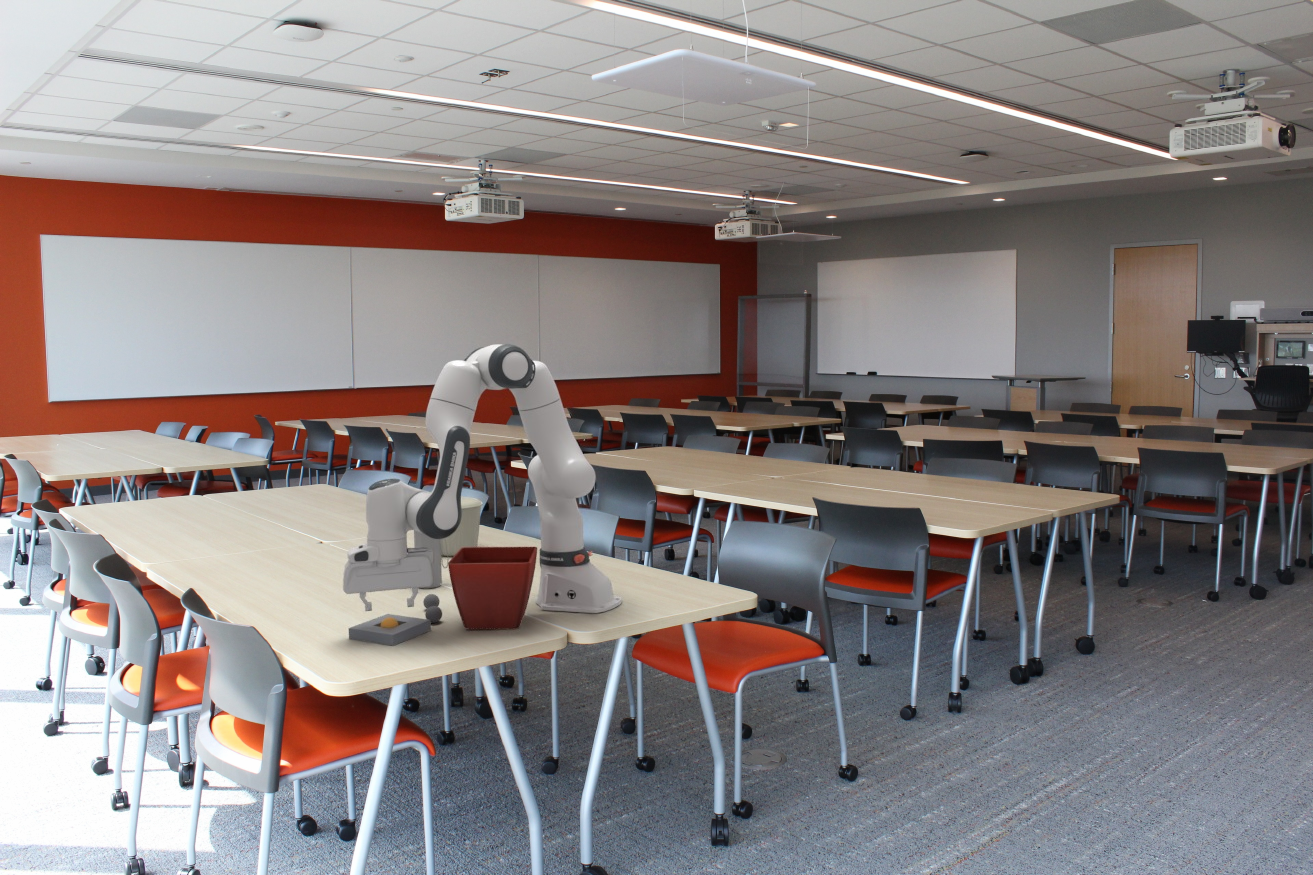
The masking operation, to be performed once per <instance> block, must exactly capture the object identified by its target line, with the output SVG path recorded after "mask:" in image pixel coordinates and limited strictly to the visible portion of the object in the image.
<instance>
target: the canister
mask: <svg viewBox="0 0 1313 875" xmlns="http://www.w3.org/2000/svg"><path fill="white" fill-rule="evenodd" d="M483 504H484V503H483V501H481V500H480V499H479V498H475V497H472V496H471V497H470V496H461V509H462V517H461V522H460V524H459V526H458V528H457V530H456V531H455V532H454V533H453V534H452V535H450V536H448V537H446V538H443V539H440V540H441V556H442V557H443V556H444V557H447V553H448V557H454V556H455V555H456V553H457V552H458V551H459V550H460V548H464V547H478V544H479V535H480V534H479V532H480V522H481V511H482V510H481V508H482V506H483ZM445 540H446V543H445ZM446 547H447V550H446Z"/></svg>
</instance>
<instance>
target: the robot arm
mask: <svg viewBox="0 0 1313 875" xmlns="http://www.w3.org/2000/svg"><path fill="white" fill-rule="evenodd" d="M506 389H509V391H510V392H511V393H512V395H513V396H514V399H515V403H516V405H517V410H518V412H519V417H520V419H521V422H522V426H523V429H524V432H525V436H526V439H527V441H528V442H529V443H530V444H531V446H532V447H533V449H534V450H535V453H536V455H535V456H534V457H533V458H532V459H531V461H530V462H529V464H528V468H527V476H528V478H529V480H530V482H531V484H532V488H533V493H534V495H535V501H536V506H537V510H538V514H539V522H540V548H539V566H540V567H539V568H540V578H539V579H540V580H539V585H538V593H537V597H536V600H535V604H537V605H539V607H540V609H541V610H543V611H554V612H571V613H572V612H573V613H590V614H599V613H603V612H607V611H610V610H613V609H615V608H617V607H619V606H620V605H621V604H622V603H623V602H622V601H623V600H622V597H621V596H620V595H619V596H618V595H614V590H613V585H612V581H611V579H610V578H609V577H608V576H607V575H605V574H604V573H603V572H602V571H601V570H599V569H598V568H597V567H596V566H595V565H594V564H592V563H591V560H590V557H591V556H593V550H591V551H588V550H587V549H586V547H585V546H584V518H583V515H582V513H581V511H580V509H579V506H578V503H577V499H578V498H583V497H585V496H587V495H588V494H590V493H591V491H592V490H593V489H594V486H595V485H596V484H595V483H596V478H597V477H596V476H597V475H596V471H595V469H594V468H593V466H592V464H591V463H589V461H588V460H587V458H586V456H585V455H584V454H583V451H582V449H581V447H580V446H579V443H578V441H577V439H576V438H575V436H574V434H573V432H572V430H571V427H570V425H569V422H568V419H567V415H566V412H565V409H564V406H563V402H562V399H561V396H560V393H559V390H558V387H557V384H556V382H555V379H554V377H553V376H552V373H551V372H550V370H549V368H548V366H547V364H546V363H544V362H542V361H539V360H532V359H531V358H530V356H529V354H528V353H527V352H526V351H525V350H524V349H522V348H521V347H519V346H517V345H514V344H510V343H506V344H504V343H503V344H500V343H498V344H491V345H488V346H482V347H478V348H476V349H474V350H473V351H472V352H470V353H469V354H468V355H467V356H466V358H465V359H463V360H462V359H461V360H460V359H458V360H457V359H456V360H451V361H449V362H446V364H445V365H444V366H443V368H442V369H441V372H440V373H439V375H438V377H437V379H436V381H435V384H434V386H433V389H432V392H431V395H430V398H429V402H428V403H427V404H428V405H427V408H426V413H425V422H424V423H425V427H426V431H427V433H428V434H429V435H430V436H431V437H432V438H433V440H434V441H435V443H436V444H437V447H438V450H439V462H438V466H437V471H436V477H435V479H434V480H435V481H434V486H433V488H432V490H431V491H427V490H424V489H421V488H417V487H414V486H413V485H412V486H411V485H409V484H407V483H405V482H403V481H402V480H401V479H399V478H385V479H382V480H378V481H376V482H373V483H372V484H371V485H370V486H369V488H368V489H367V493H366V501H365V520H366V523H367V527H368V531H367V535H366V541H367V542H364V543H362V544H359V545H356V546H354V547H352V548H349V549H348V551H347V562H346V563H345V565H344V569H343V577H342V590H343V592H344V593H345V594H346V595H351V594H352V595H353V594H359V598H360V600H361V602H362V603H363V604H364V611H365V612H371V611H372V610H373V608H372V606H373V604H372V601H368V600H367V599H366V597H367V593H373V592H374V593H375V592H385V591H395V590H407V589H411V592H412V594H411V596H410V597H409V598H406V607H407V608H414V607H415V599H416V598H417V596H418V594H419V589H420V588H419V587H429V586H431V585H432V584H433V582H434V579H433V571H432V566H431V565H432V564H433V562H434V553H433V551H432V550H431V549H428V548H427V547H421V548H415V547H408V541H407V540H408V539H407V538H408V537H407V536H408V532H409V531H414V530H415V531H418V532H421V533H423V534H425V535H427V536H429V537H431V538H433V539H443V538H446V537H448V536H450V535H452V534H453V533H454V532H455V531H456V530H457V528H458V526H459V524H460V522H461V517H462V509H461V497H462V492H463V491H462V490H463V486H464V480H465V475H466V470H467V465H468V460H469V455H470V448H471V447H470V446H471V431H472V426H473V420H474V419H475V418H474V417H475V413H476V410H477V406H478V403H479V402H478V401H479V400H480V398H481V395H482V394H483V393H484V392H485V390H493V391H501V390H506ZM427 550H429V551H427Z"/></svg>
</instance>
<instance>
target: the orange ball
mask: <svg viewBox="0 0 1313 875" xmlns="http://www.w3.org/2000/svg"><path fill="white" fill-rule="evenodd" d="M396 626H398V622H397V620H396V619H394V618H391V617H388V618H385V619H384V620H383V621H382V623H381V627H385V628H394V627H396Z"/></svg>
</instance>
